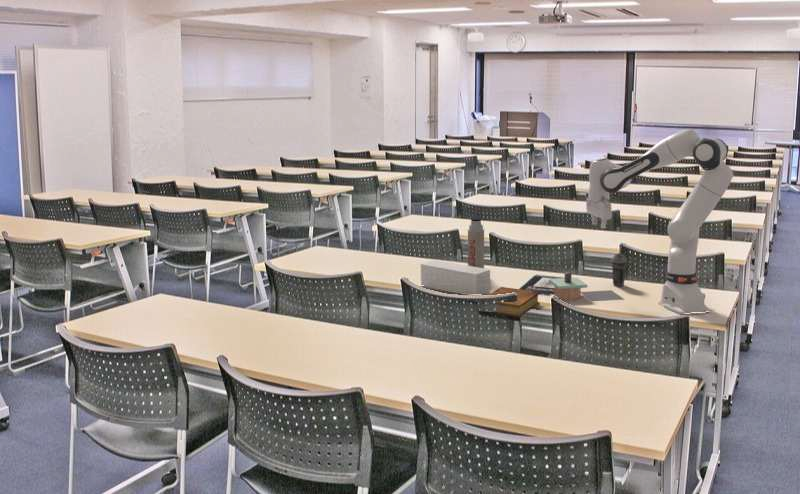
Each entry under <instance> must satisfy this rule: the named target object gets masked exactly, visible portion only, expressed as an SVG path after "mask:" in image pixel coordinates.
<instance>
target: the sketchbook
mask: <svg viewBox="0 0 800 494" xmlns="http://www.w3.org/2000/svg"><path fill="white" fill-rule="evenodd" d="M557 278H562V276H555V275H547V274H546V275H544V274H542V275H541V274H535V275H533V276H532V277H531V278H530V279H528V281H526V282H525V283H524V284H523V285H522V286H520V287H519V288H518V289H522V290H530V291H538V292H540V294H544V295H543V296H549V295H550V296H551V297H552V295H553V296H554V292H555V286H554V285H553V284H551V283H550V282H549V279H557ZM550 296H549V297H550Z"/></svg>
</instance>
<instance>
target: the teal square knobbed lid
mask: <svg viewBox="0 0 800 494" xmlns="http://www.w3.org/2000/svg"><path fill="white" fill-rule="evenodd" d="M549 282H550V283H551V284H553V285H554V286H555V287H556V288H558V289H570V288H581V289H582V288H583V289H584V288H588V284H587V283H586V282H584V281H583V280H581V279H580V278H579V277H577V276H576V277H572V272H570V271H567V272H564V277H561V278H557V279H549Z"/></svg>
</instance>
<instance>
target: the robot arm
mask: <svg viewBox="0 0 800 494" xmlns="http://www.w3.org/2000/svg"><path fill="white" fill-rule="evenodd" d="M728 154H729V148H728V146H727V143H725V141H723V140H722V139H719V138H716V137H706V138H705V137H704V138H701V137H700V135H699V134H698V133H697V132H696V131H695V130H693V129H691V128H686V129H684V130H680V131H678V132H675V133H672V134H671V135H668V136H667V137H665V138H663V139H662V140H660V141H659V142H657V143H656V144H655V145H653V146H652V147H651V148H650V149H649V150H647V151H646V152H645V153H643V154H642V155H641V156H640V157H638V158H637V159H635V160H632V161H630V162H629V163H627V164H625V165H623V166H622V165H619V164H616V163H614V162H612V161H611V160H610V159H608V158H599V159H595V160H593V161H592V162H590V164H589V172H588V173H589V175H588V179H589V186H588V187H589V188H588V191H587V192H585V194H584V195H585V198H586V199H585V200H586V201H585V203H586V206H585V207H586V213H587V214H589V215H590V217H591V218H590V219H591V221H592V222H591V223H592V225H594V226H595V225H598V220H597V218H599V219H601V224H600V228H601V229H606V228H607V227H606V226H607V223H608V220H611V219H612V217H613V211H612V204H611V202H610V201H609V200H610V196H611V195H610V194H614V193H617V192H619V191H620V190H622V189H624V188H626V187H628V186H629V185H630V184H631V183H632V181H633V179H634V178H636V177H638V176H640V175H641V174H643V173H646V172H649V171H651V170H655V169H661V168H664V167H667V166H671V165H673V164H676V163H678V162H679V161H682V160H683V159H685V158H687V157H689V156H692V157H693V159H694V160H695V162H696V163H697V164H698V165H699V167H700V168H701V169H702V170H704V172H703V174H702V175H701V177H700V179H699V180H698V182H697V183H696V185H694V187H693V188H692V190H691V192H690V193H689V195H688V196H687V197H686V199H685V200H684V202H683V203H682V205H680V207H679V208H678V210H677V211H676V213H675V214H674V216H673V217H672V219H671V220H670V221H669V223H668V224H667V236H668V238H670V245H669V250H668V259H667V260H668V261H667V270H666V274H665V276H666V277H665V280H666V281H665V283H664V284H663V286H662V290H661V291H662V292H661V298H660V301H658V303H657V304H658V305H660V306H662V307H663V308H665V309H668V310H669V311H671V312H673V313H677V314H679V315H683V314H682V313H691V312H706V311H710V312H711V309H710V308H709V307H708V306H706V304H705V299H706V293H704V292H702V291H701V288H700V287H699V285H698V276H697V272H696V265H697V264H696V263H697V251H698V245H699V238H700V228H701V227H702V225H703V224H704V223H705V221H706V220H707V218H708V217H709V216H710V214H711V213H712V212H713V210H714V209H715V208H716V206H717V204H718V203H719V201H720V200H721V199H722V197H723V196H724V194H725V193H726V191H727V190H728V187H729V186H730V184H731V182H732V180H733V178H734V171H733V169H732V168H731V166H729V165H727V164H726V163H725V160H726V158H727V157H728Z"/></svg>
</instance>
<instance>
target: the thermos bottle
mask: <svg viewBox="0 0 800 494" xmlns="http://www.w3.org/2000/svg"><path fill="white" fill-rule="evenodd" d="M470 220H471V222H470V224H469V226H468V229H467V266H473V267H478V268H484V269H485V229H484V225H483V223H482V222H481V221H482V218H480V217H472V218H471V219H470Z"/></svg>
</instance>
